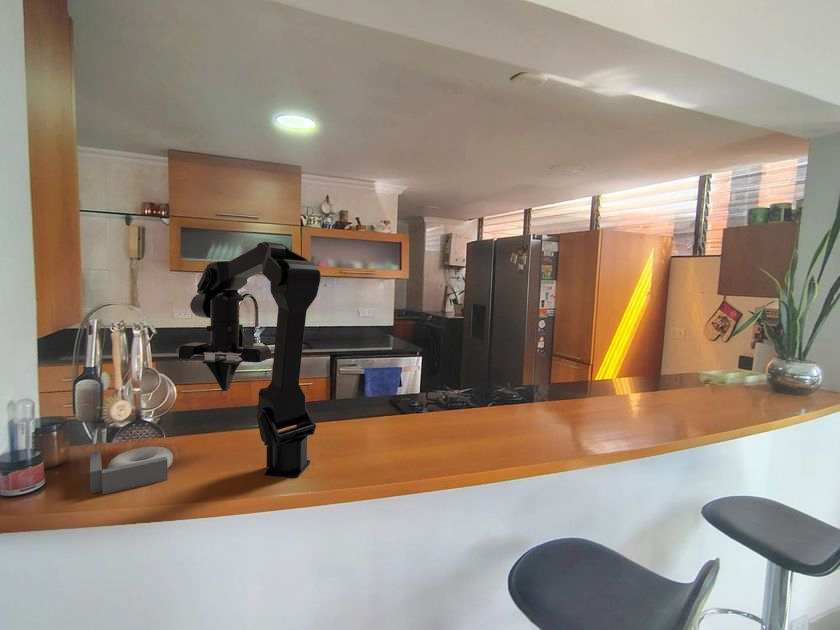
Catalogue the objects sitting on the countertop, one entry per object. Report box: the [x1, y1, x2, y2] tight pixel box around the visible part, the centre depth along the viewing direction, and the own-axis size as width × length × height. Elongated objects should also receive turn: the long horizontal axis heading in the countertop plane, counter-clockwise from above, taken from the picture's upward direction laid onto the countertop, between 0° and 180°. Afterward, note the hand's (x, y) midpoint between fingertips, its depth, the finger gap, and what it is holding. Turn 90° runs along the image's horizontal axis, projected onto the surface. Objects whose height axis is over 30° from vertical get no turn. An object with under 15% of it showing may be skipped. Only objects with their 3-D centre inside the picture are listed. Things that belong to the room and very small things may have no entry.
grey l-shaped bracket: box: [89, 450, 169, 495], centre depth 69 cm, size 15×7×4 cm, turn 84°
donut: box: [106, 445, 174, 470], centre depth 74 cm, size 10×4×10 cm
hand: (225, 390), depth 90 cm, fingers closed
